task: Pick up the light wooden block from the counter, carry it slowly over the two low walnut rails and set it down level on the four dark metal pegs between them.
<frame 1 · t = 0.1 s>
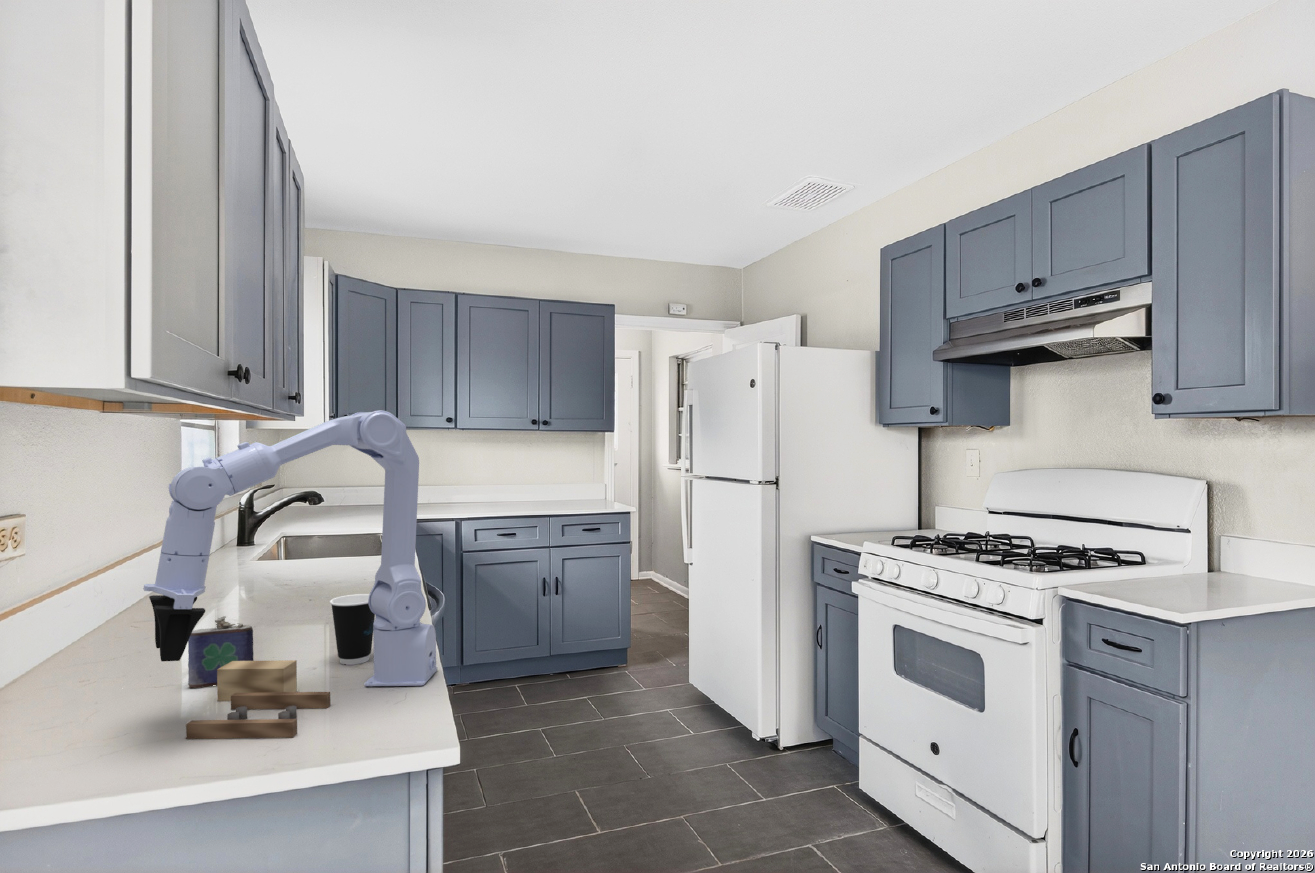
hand: (167, 653, 98), 10 cm above the counter, tool pointing down, fingers open, 7 cm apart
peg frame: (262, 720, 101), on the counter
dixie cup: (354, 661, 128), on the counter
light wooden block: (257, 696, 111), on the counter
flask: (222, 684, 117), on the counter
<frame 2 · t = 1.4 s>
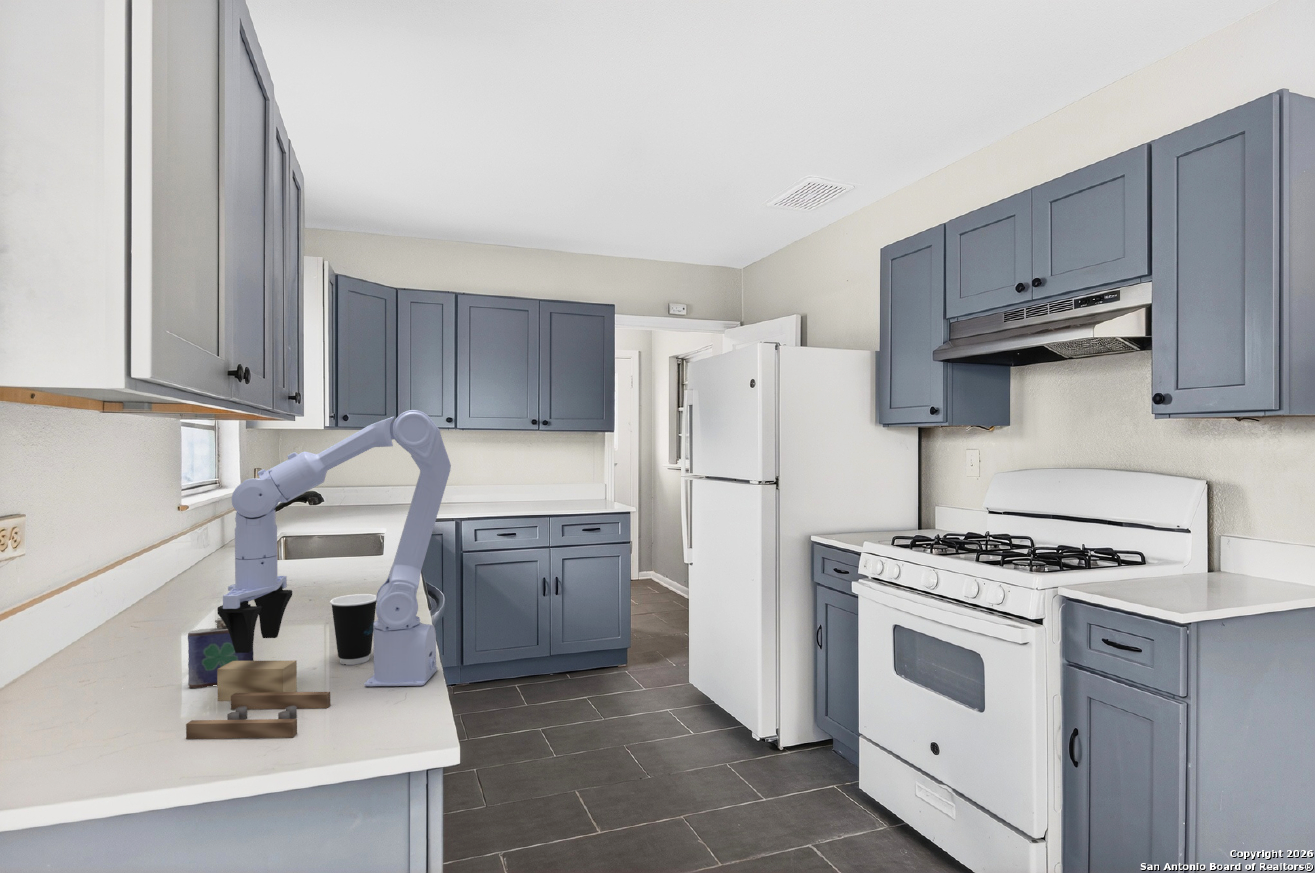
hand: (257, 644, 111), 8 cm above the counter, tool pointing down, fingers open, 7 cm apart
nothing on the counter moved.
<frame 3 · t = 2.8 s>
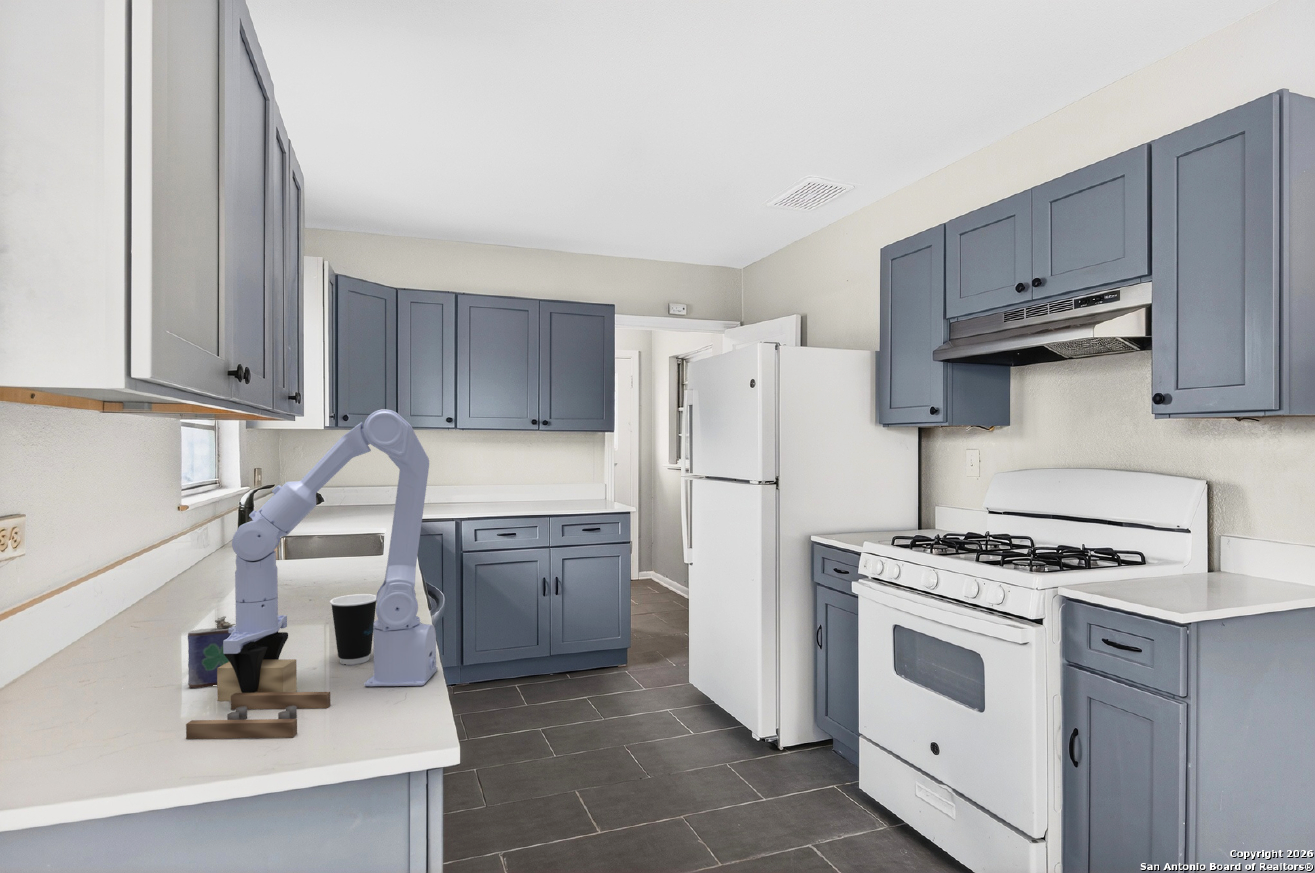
hand: (257, 686, 111), 1 cm above the counter, tool pointing down, fingers closed on light wooden block, 4 cm apart
light wooden block: (257, 695, 111), on the counter, touching gripper
everything else where it was.
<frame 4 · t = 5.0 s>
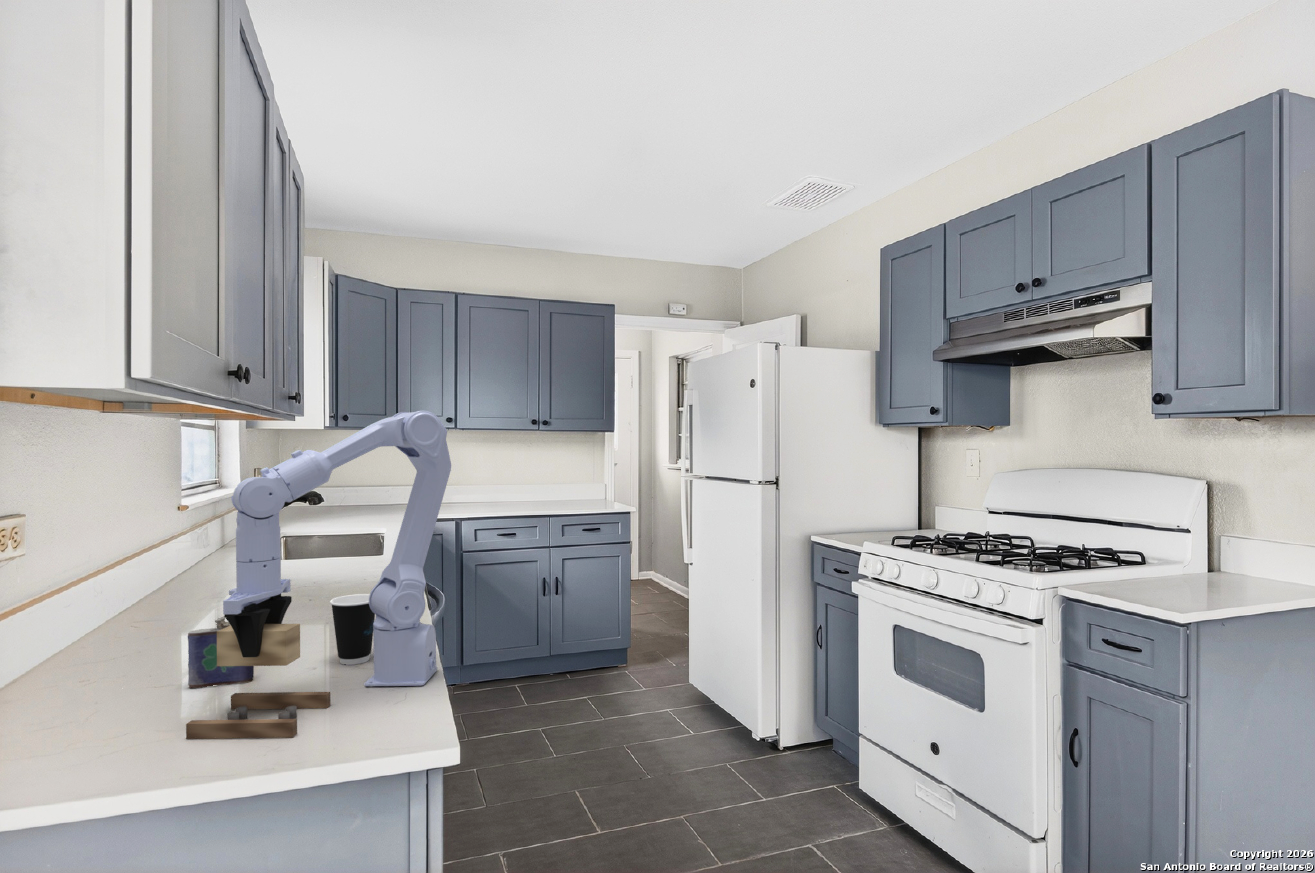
hand: (259, 651, 106), 8 cm above the counter, tool pointing down, fingers closed on light wooden block, 4 cm apart
light wooden block: (259, 661, 106), point 7 cm above the counter, touching gripper
everything else where it was.
when the fingers open (4 cm above the counter, at t = 7.3 s): light wooden block stays where it is, resting on peg frame.
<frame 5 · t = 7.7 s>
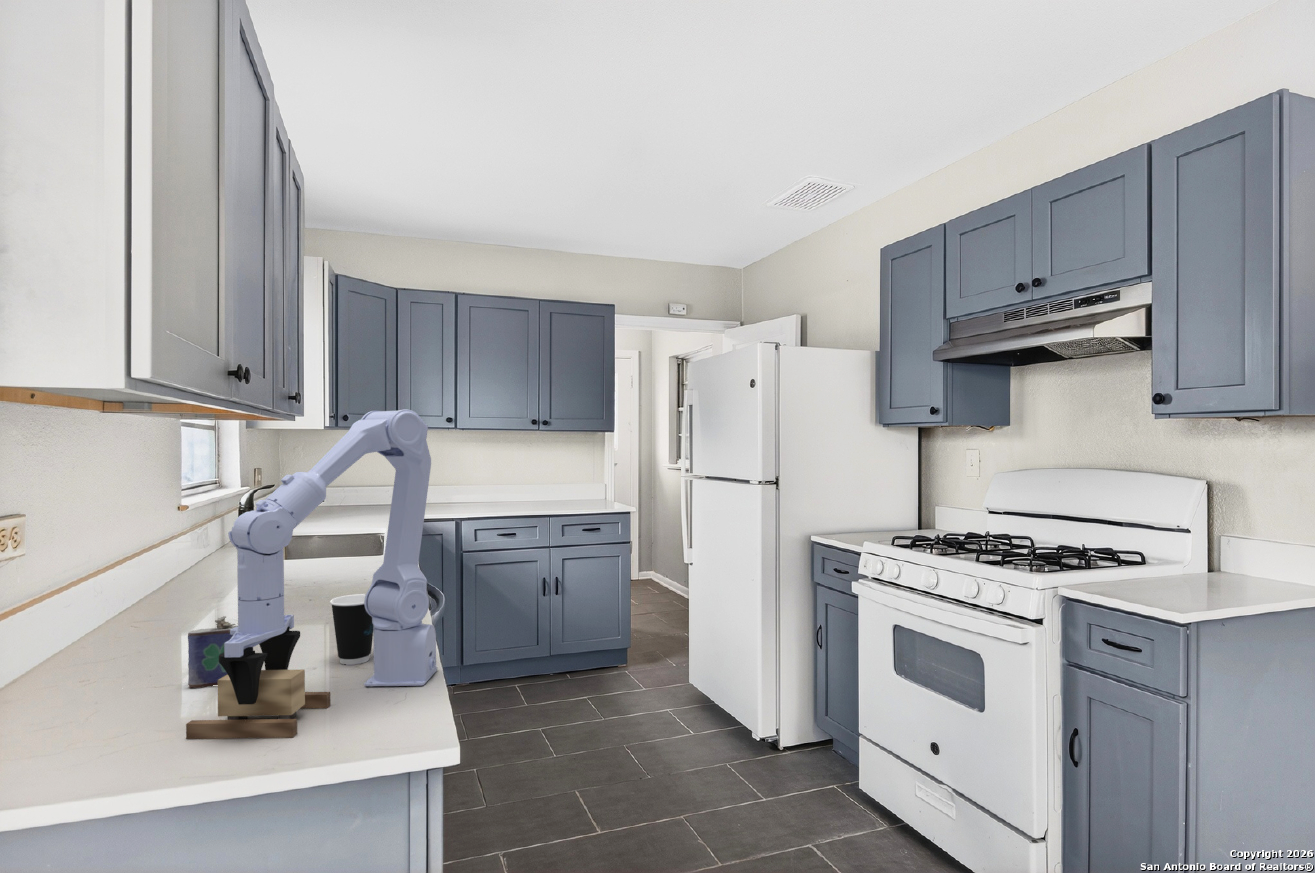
hand: (262, 693, 101), 4 cm above the counter, tool pointing down, fingers open, 7 cm apart
light wooden block: (262, 710, 101), point 1 cm above the counter, touching peg frame
everything else where it was.
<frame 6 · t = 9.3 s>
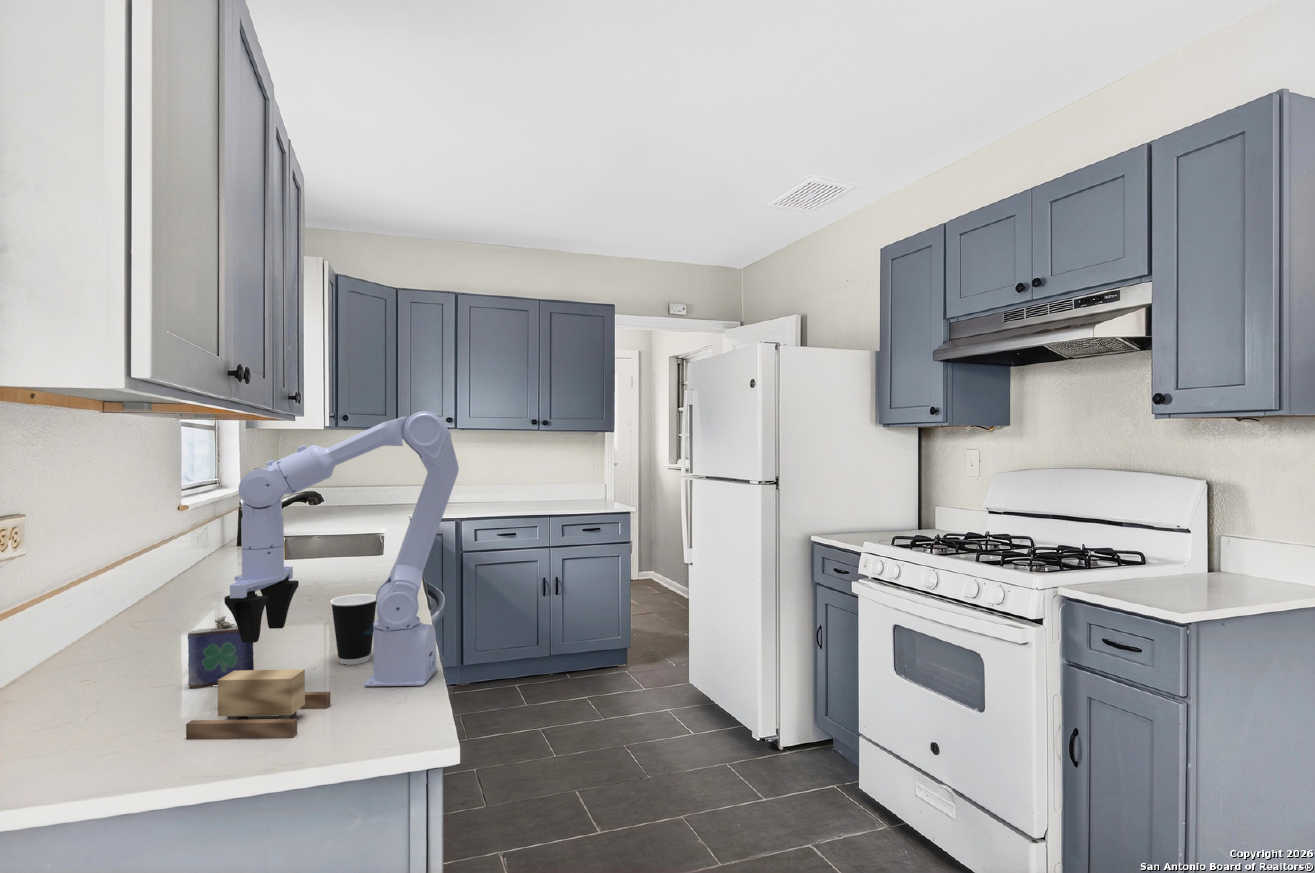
hand: (263, 634, 111), 9 cm above the counter, tool pointing down, fingers open, 7 cm apart
nothing on the counter moved.
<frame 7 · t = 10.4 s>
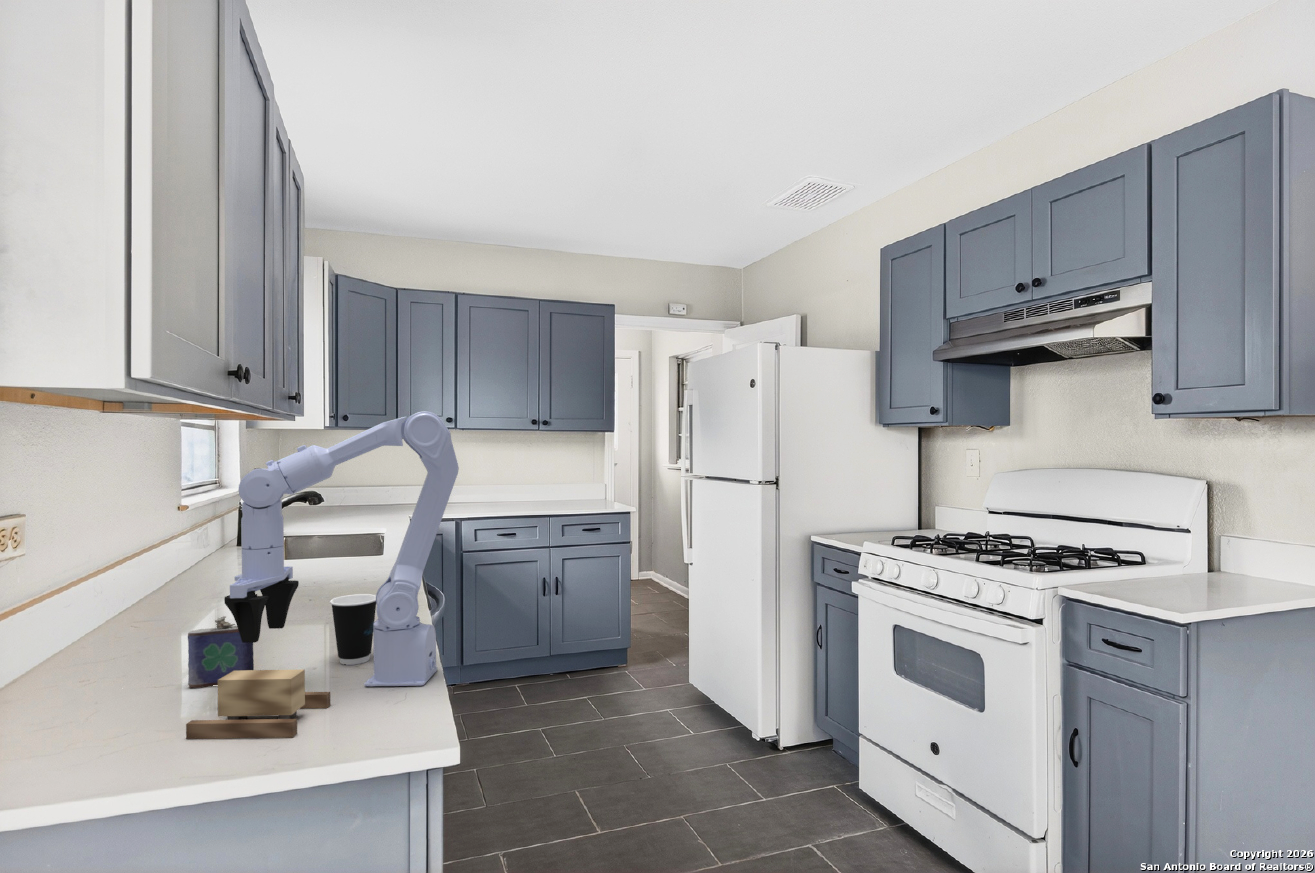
hand: (263, 634, 111), 9 cm above the counter, tool pointing down, fingers open, 7 cm apart
nothing on the counter moved.
at the end: light wooden block 0.1 cm off-centre on the peg frame, point 1.5 cm above the peg frame's base; light wooden block tilted 0°; the gripper is holding nothing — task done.
